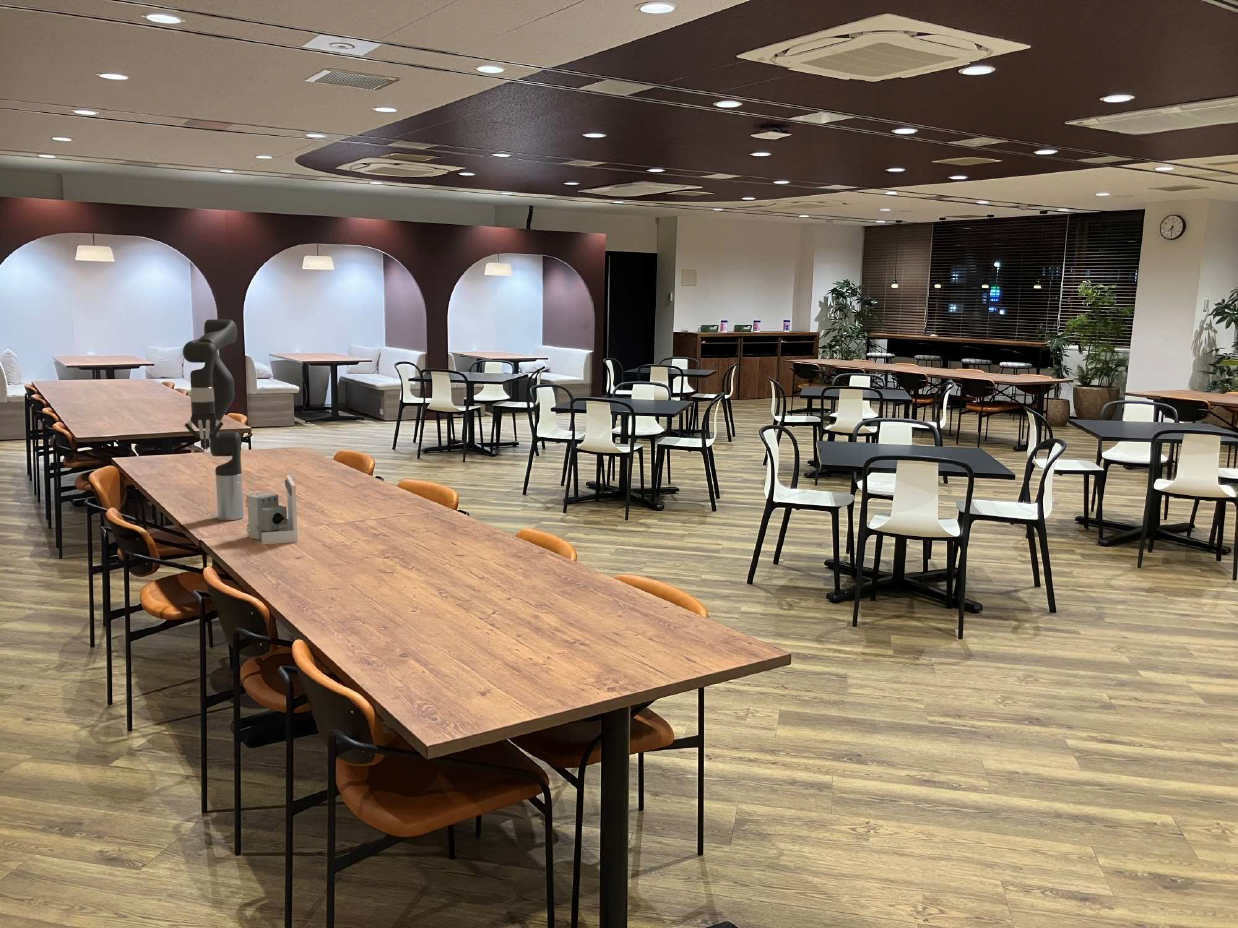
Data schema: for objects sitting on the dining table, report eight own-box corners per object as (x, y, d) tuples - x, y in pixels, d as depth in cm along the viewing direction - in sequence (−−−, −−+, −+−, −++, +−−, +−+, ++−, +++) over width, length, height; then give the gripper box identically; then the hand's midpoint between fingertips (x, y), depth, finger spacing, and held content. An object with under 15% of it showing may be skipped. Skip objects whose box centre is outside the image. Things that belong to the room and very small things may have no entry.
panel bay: (257, 531, 356) (255, 477, 352) (291, 529, 360) (289, 475, 357) (262, 544, 338) (259, 487, 334) (297, 541, 342) (295, 485, 339)
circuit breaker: (272, 542, 340) (270, 500, 338) (247, 536, 349) (245, 495, 346) (290, 538, 347) (289, 497, 344) (265, 532, 355) (264, 491, 352)
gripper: (222, 398, 347) (225, 446, 350) (181, 399, 342) (184, 448, 345) (223, 400, 340) (226, 450, 343) (181, 401, 335) (184, 451, 338)
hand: (205, 449), depth 344 cm, fingers closed
